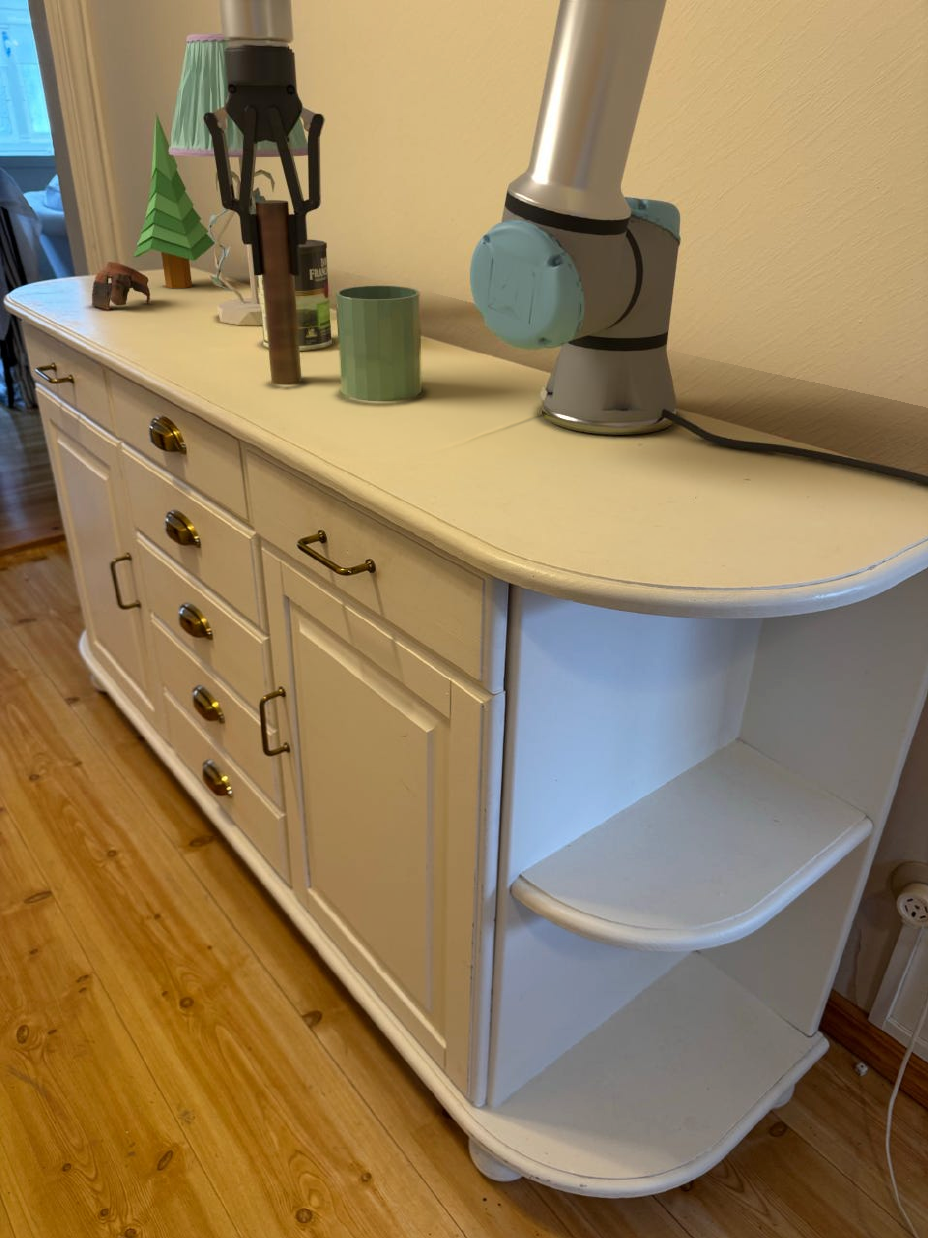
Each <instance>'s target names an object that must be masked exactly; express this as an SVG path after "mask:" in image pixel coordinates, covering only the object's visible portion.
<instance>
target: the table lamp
mask: <svg viewBox="0 0 928 1238" xmlns="http://www.w3.org/2000/svg"><path fill="white" fill-rule="evenodd" d="M185 44H186V47H185V51H184V52H185V53H184V58H183V63H182V69H181V75H180V79H179V85H178V88H177V93H176V100H175V106H174V113H173V120H172V128H171V134H170V135H171V136H170V137H171V138H170V139H171V141H170V145H169V146H170V147H169V154H170V155H173V156H178V157H179V156H181V157H182V156H183V157H198V158H199V157H202V158H203V157H205V158H206V157H207V158H215V155H214V148H213V142H212V136H211V134H210V132H209V130H208V128H207V126H206V124H205V122H204V119H203V117H204V114H205V113H208V112H214V111H216V110H218V109H220V108H222V107H224V106H225V100H226V98H227V94H228V86H227V76H226V66H225V55H224V51H226V48H228V47H229V42H227V41H225V40H224V39H223V36H222V33H193V34H188V35H187V36H186V41H185ZM227 124H228V127H227V129H226V130H225V131H224V132H225V135H226V140H227V146H228V153H229V158H238V166H239V176H238V174H237V173H236V172H235V171H233V170H231V174H232V179H233V180H234V181H235V182H236V186H235V188H236V195H235V199H238V200H239V194H240V182H241V169H242V157H243V137H244V135H243V134H242V133H241V131H240V130H239V128H238V127H237V126H236V124H235V123H234V122H233V120H232V119H231V118H230V116H229V117H228V118H227ZM303 125H304V124H303V123H302V118H301V117H299V119H298V121H297V122H296V124H295V126H294V128H293V129H292V131H291V133H290V135H289V139H290V144H291V149H292V154H293V157H304V156H305V157H306V156H308V139H307V137H306V132H305V129H304V126H303ZM256 158H280V154H279V151H278V148H277V144H276V142H270V141H267V140H265V141H261V142H258V147H257V152H256ZM261 175H262V176H264V177H266V178H267V179H269V181H270V185H271V190H272V192H274V190H275V185H276V182H275V180H274V178H273V176H272V174H271V172H268V171H265V170H263V169H259V170H257V171H255V175H254V178H256V177H258V176H261ZM218 182H219V181H218V175H217V172H215V174H214V181H213V185H214V188H215V191H216V192H218ZM263 200H267V199H266V197H265V196H264V195H261V191H260V187H256V188H255V189H253V198H252V211H251V214H256V204H255V202H256V201H263ZM228 211H230V212H229V214H228V216H227V218H226V220H225V221H224V224H223V225H222V227H221V229H220V231H219V233H218V235H217V239H215V237H214V235H213V232H212V227H213V225H214V224H216V223H217V220H218V218H219V217H220V216H222V215H224V214H226V213H227V212H228ZM235 213H236V212H235V211H232V210H229V209H225V208H224V209H223V210H222V211H221V212H219V213H218V214H217V215H216V214H212V215H211V216H210V218H209V221H208V229H207V230H208V232H207V234H208V236H209V237H210V238H211V239H212V241H213V242H214V243H215V244H214V248H213V255H214V256H213V257H214V266H215V268H216V274H215V276H212V275H209V276H210V279H211V281H212V283H213V284H214V285H215V286H217V287H219V288H223V289H224V290H226V291H228V292H232V293H233V294H235V295H236V296H237V298H238V299H228V300H226V301H223V302H220V303H218V304H216V308H217V312H218V316H219V322H220V323H224V324H230V325H236V326H262V318H261V308H260V298H259V287H258V277H257V275H254V266H253V255H252V244H246V250H247V261H248V271H249V281H250V293H251V297H248V298H244V297H243V295H242V294H241V292H239V291H238V290H237V289H236V288H235V287H234V286H233V285H232V283H230V282H229V281H228V280H227V279H226V277H225V274H224V271H223V269H222V266H223V263H224V261H225V260H226V258H227V256H228V255H229V253H230V251H231V247H232V245H229V246H228V247H227V248H226V247H225V246H223V245H222V244H221V239H222V237H223V235H224V234H225V232H226V230H227V228H228V227H229V224H230V223H231V221H232V219H233V217H234V215H235ZM220 248H221V250H222V251H221V258H220ZM219 258H220V260H219ZM220 279H221V280H220Z"/></svg>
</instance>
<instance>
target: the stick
mask: <svg viewBox="0 0 928 1238" xmlns="http://www.w3.org/2000/svg"><path fill="white" fill-rule="evenodd" d="M255 204H256V215H257V226H258V237H259V248H260V259H261V270H262V282H263V293H264V304H265V315H266V326H267V338H268V348H267V349H268V359H269V368H270V369H269V371H270V379H271V383H272V384H275V385H285V386H286V385H296V384H299V383H301V382H302V380H303V379H302V367H301V365H302V364H301V353H300V352H301V351H299V337H298V324H297V310H296V297H295V283H294V275H292V264H291V251H290V237H289V224H288V216H289V215H290V205H289V201H288V200H281V199H279V200H278V199H270V200H269V199H266V200H263V201H256V202H255Z"/></svg>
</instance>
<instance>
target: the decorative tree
mask: <svg viewBox="0 0 928 1238" xmlns="http://www.w3.org/2000/svg"><path fill="white" fill-rule="evenodd" d="M157 113H158V112H155V119H154V133H153V147H152V148H153V149H152V163H151V174H150V175H151V178H150V180H151V184H150V189H149V196H148V205H147V209H146V212H145V217H144V223H143V226H142V228H141V231H140V233H141V235H140V238H139V240H138V242H137V244H136V245H137V249H136V251H135V253H134V254H133V256H132V258H139V257H140V256H142V255H144V254H145V253H147V252H149V251H150V250H154V251H158V252H160V253H161V262H162V267H163V274H164V280H165V281H164V283H165V287H166V288H170V289H187V288H190V287H193V279H192V272H191V264H190V261H194V262H195V261H197V260H198V259H199V258H200V257H201V256H202V255H204V254H205V253H206V252H207V251H208V250H209V249H211V247H213V246H215V245H216V243H214V242H213V241H212V239H211V237H210V235H209V234H208V230H209V229H207V228H206V227H205V226H204V224H203V223H202V222H201V220H202V218H201V216H200V215H199V213H197V211H196V209H195V208H194V206H195V205H194V203H193V201H192V200H191V198H190V197H189V195H188V193H187V192H186V190H187V188H186V185H185V184H184V181H183V180H182V178H181V176H180V174H179V172H178V170H177V169H178V164H177V161H176V160H175V155H170V154H169V147H170V146H171V145H170V143H169V142H168V141H169V140H168V139H167V136H166V134H165V131H164V128H163V126H162V123H161V121H160V119H159V116H158V114H157Z"/></svg>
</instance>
